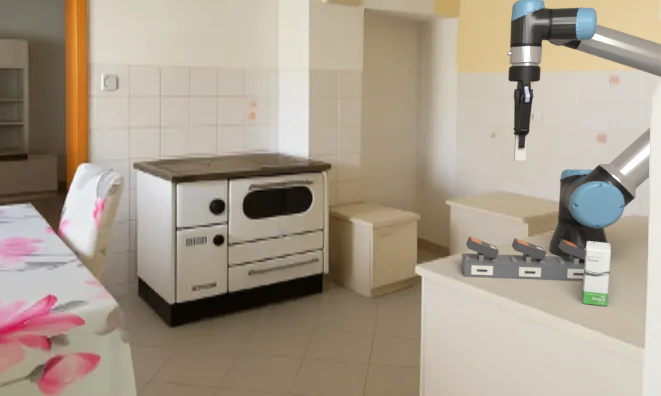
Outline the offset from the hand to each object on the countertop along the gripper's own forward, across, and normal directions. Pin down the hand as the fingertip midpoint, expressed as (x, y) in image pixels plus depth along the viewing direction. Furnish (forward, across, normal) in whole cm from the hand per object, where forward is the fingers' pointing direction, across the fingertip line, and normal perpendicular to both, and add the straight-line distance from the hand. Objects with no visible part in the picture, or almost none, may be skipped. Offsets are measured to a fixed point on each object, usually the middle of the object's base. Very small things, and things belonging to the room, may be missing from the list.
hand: (519, 160), depth 159 cm
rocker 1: (+21, +11, -10) cm, 26 cm away
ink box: (+27, +29, +12) cm, 41 cm away
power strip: (+26, +11, +1) cm, 29 cm away
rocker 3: (+21, +11, +12) cm, 27 cm away
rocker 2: (+21, +11, +1) cm, 24 cm away
